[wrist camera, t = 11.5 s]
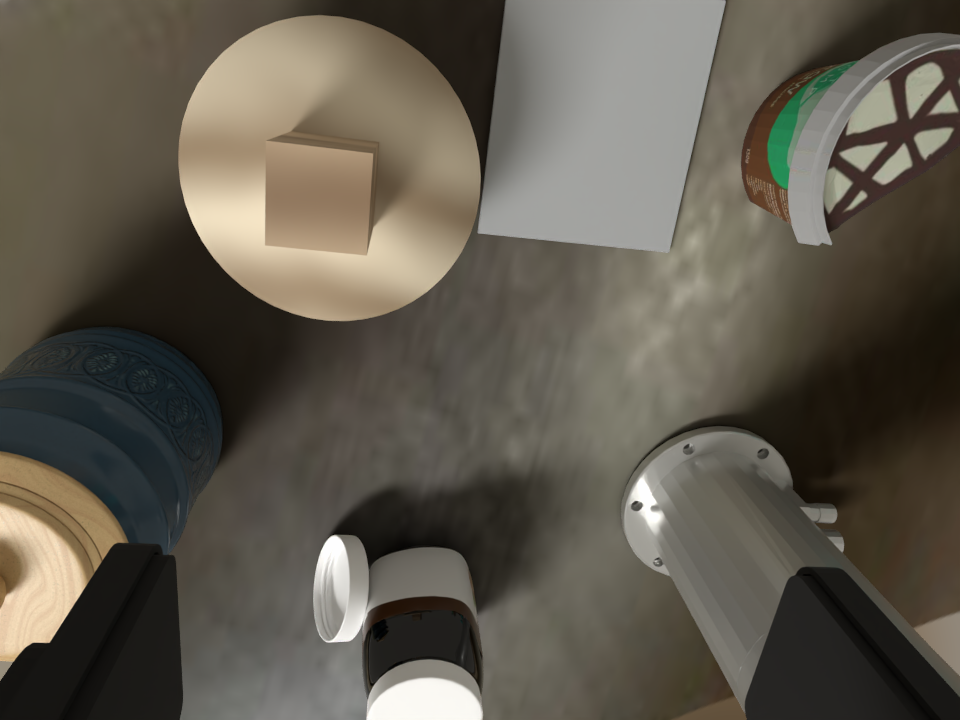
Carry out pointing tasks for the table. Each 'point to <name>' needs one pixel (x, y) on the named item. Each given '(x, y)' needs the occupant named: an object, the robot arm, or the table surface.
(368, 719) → the spread jar
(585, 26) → the mat
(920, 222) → the table surface
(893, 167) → the food container
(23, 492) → the canister
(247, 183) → the lid
